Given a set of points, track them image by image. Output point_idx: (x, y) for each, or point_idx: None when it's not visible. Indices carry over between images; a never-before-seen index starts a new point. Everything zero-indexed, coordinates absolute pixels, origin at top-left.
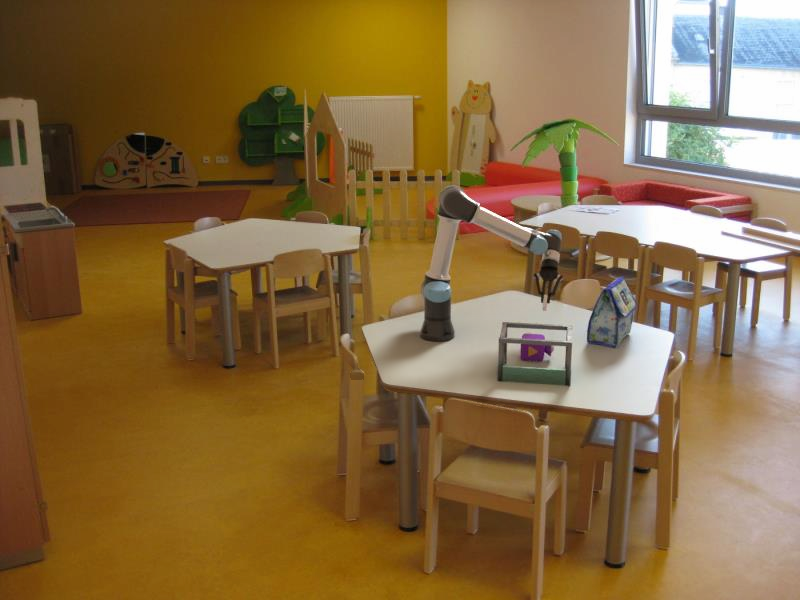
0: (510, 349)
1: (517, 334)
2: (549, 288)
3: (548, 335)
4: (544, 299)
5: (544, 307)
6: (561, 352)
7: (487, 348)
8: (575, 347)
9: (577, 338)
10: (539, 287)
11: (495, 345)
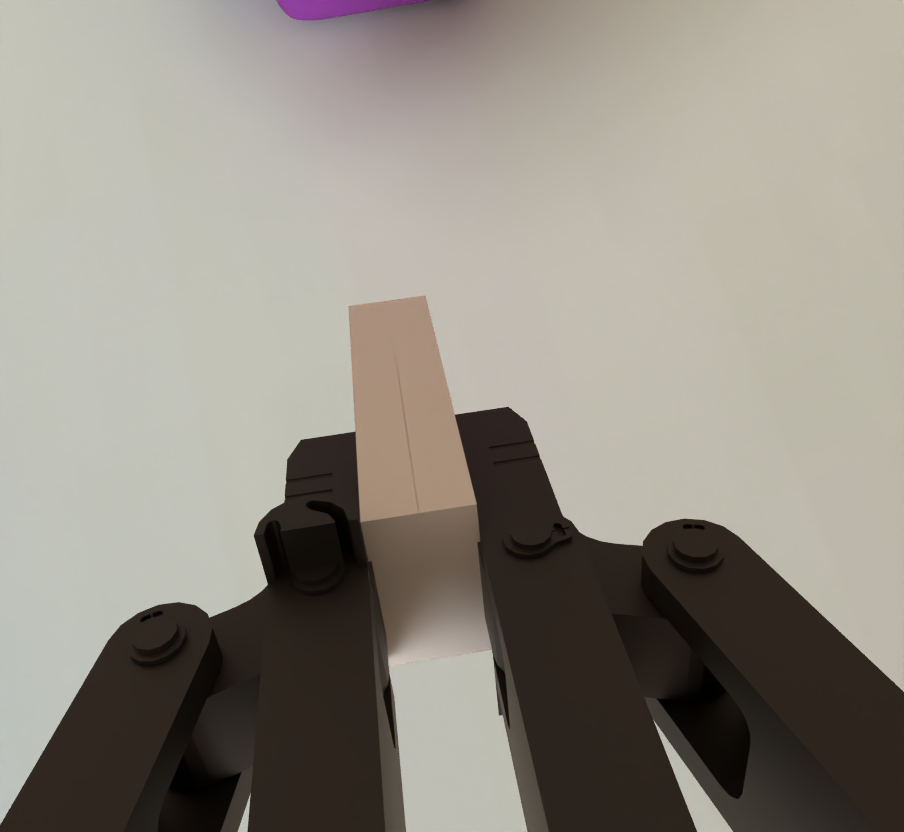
0: (643, 68)
1: (755, 550)
2: (325, 764)
3: (396, 669)
4: (423, 408)
5: (381, 307)
6: (130, 171)
7: (859, 15)
8: (6, 374)
9: (24, 704)
10: (779, 700)
11: (826, 118)
